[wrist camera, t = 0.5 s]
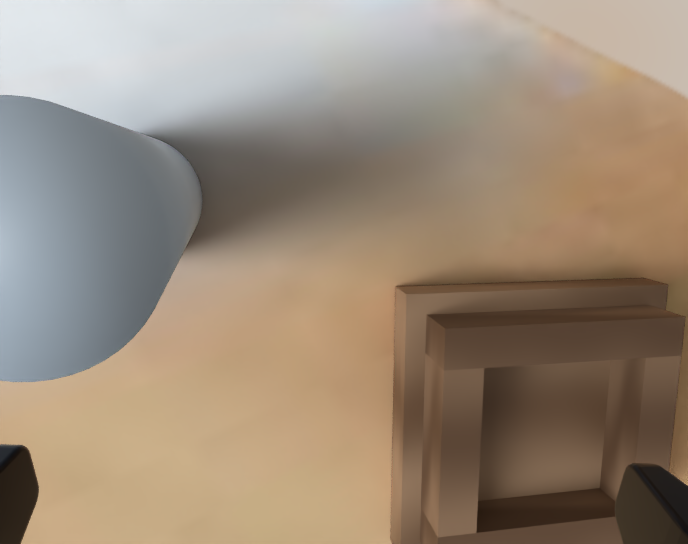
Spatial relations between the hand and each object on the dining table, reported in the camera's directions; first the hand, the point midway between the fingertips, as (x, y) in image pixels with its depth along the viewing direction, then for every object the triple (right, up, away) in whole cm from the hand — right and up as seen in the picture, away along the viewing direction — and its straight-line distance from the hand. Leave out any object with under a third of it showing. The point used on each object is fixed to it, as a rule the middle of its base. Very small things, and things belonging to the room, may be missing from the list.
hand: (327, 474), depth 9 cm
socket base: (+8, -3, +17) cm, 18 cm away
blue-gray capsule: (-7, +6, +12) cm, 15 cm away
